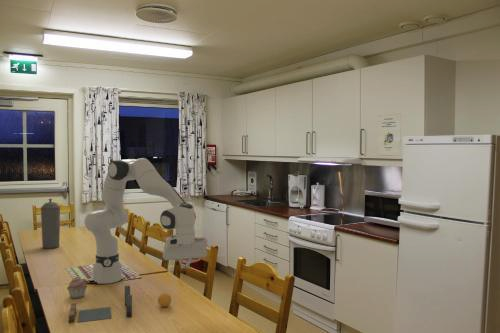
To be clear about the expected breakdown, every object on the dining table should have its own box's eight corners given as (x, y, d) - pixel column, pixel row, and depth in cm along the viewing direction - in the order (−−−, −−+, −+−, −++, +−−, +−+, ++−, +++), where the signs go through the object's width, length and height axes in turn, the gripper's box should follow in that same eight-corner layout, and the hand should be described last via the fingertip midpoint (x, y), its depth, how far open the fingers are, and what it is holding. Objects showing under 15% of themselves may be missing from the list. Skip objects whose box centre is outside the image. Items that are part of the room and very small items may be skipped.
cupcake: (91, 296, 205) (91, 276, 204) (72, 301, 198) (72, 280, 197) (82, 291, 211) (81, 272, 210) (63, 296, 204) (63, 276, 203)
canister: (57, 244, 311) (57, 197, 309) (62, 247, 301) (62, 199, 300) (39, 246, 303) (38, 198, 301) (43, 250, 293) (43, 200, 292)
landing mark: (79, 310, 187) (79, 310, 187) (110, 307, 191) (110, 306, 191) (77, 322, 174) (77, 321, 174) (110, 318, 179) (110, 318, 179)
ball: (157, 304, 194) (157, 292, 194) (170, 303, 196) (170, 290, 196) (158, 309, 189) (158, 296, 188) (172, 308, 191) (172, 295, 190)
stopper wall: (71, 310, 187) (71, 303, 187) (76, 309, 188) (76, 303, 187) (68, 323, 174) (68, 315, 174) (74, 322, 174) (73, 315, 174)
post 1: (124, 304, 194) (124, 285, 194) (130, 304, 195) (130, 285, 194) (124, 306, 192) (124, 287, 191) (130, 306, 193) (130, 286, 192)
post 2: (126, 315, 182) (125, 295, 181) (131, 314, 183) (131, 294, 182) (126, 317, 180) (126, 297, 179) (132, 316, 180) (132, 296, 180)
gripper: (205, 235, 200) (205, 264, 201) (162, 238, 194) (162, 267, 194) (208, 238, 195) (208, 267, 195) (164, 241, 188) (164, 271, 188)
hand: (185, 267), depth 195 cm, fingers closed
